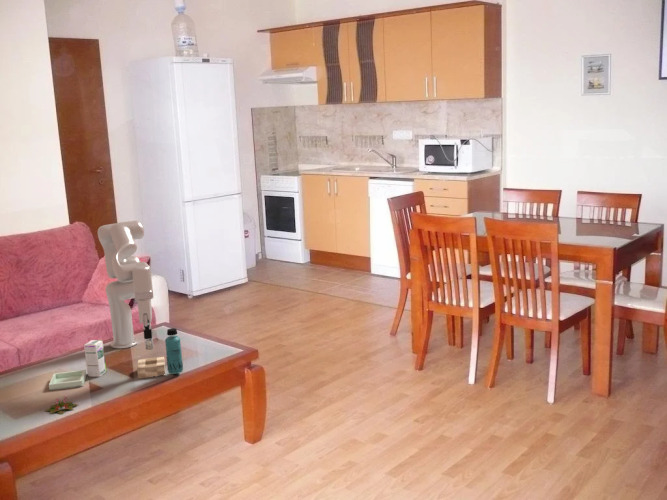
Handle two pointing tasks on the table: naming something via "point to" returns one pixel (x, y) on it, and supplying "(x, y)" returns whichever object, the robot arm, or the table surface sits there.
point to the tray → (67, 380)
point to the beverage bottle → (173, 352)
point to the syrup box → (95, 358)
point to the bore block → (151, 367)
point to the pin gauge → (149, 341)
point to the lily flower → (60, 405)
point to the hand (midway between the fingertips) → (148, 336)
